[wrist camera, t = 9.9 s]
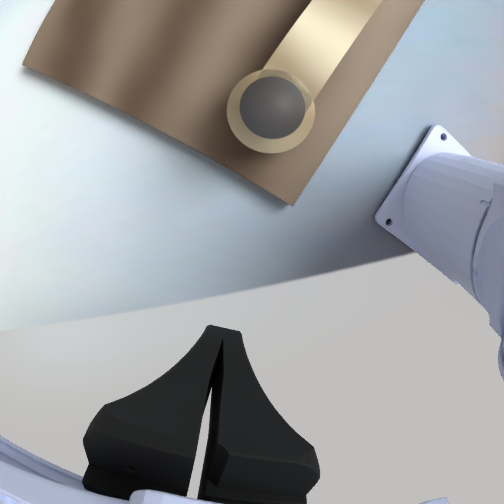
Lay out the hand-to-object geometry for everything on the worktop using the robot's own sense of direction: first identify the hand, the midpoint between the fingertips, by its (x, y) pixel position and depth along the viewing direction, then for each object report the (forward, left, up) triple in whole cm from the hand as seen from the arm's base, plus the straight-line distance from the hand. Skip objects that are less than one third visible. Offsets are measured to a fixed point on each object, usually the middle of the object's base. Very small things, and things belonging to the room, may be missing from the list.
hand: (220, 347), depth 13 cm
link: (+3, -16, -8) cm, 18 cm away
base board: (+10, -18, -9) cm, 22 cm away
